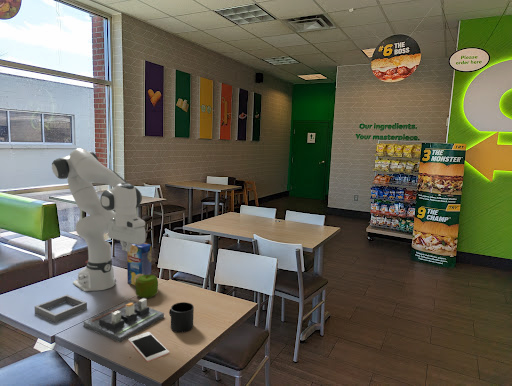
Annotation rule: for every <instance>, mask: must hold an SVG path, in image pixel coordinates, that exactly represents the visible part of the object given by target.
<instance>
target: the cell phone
mask: <svg viewBox="0 0 512 386" xmlns="http://www.w3.org/2000/svg"><path fill="white" fill-rule="evenodd" d="M127 341H128V342H129V343H130V344H131V346H132V347H133V348H134V349H135V350H136V351H137V352H138V354H140V356H141V357H143V359H144V361H145V362H148V363H149V362H152V361H153V360H156V359H159V358H161V357H164V356H167V355H169V354H170V350H169V349H167V348H166V346H164V344H162V343H161V341H160V340H158V339H157V337H155V336H154V335H153V334H152V333H151V332H150V331H147V332H144V333H140V334H137V335H134V336H130V337H128V338H127Z"/></svg>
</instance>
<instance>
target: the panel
mask: <svg viewBox="0 0 512 386" xmlns="http://www.w3.org/2000/svg"><path fill="white" fill-rule="evenodd" d="M147 299H148V298H141V299H139V300H137V302H134V301H131V300H128V301H125V302H124V303H121V304H119V305H117V306H114V307H112V308H111V309H109V310H106V311H104V312H102V313H99V314H97V315H95V316H93V317H91V318H89V319H86V320H85V321H83V327H85V328H87V329H89V330H91V331H94V332H95V333H99V334H100V335H102V336H105V337H107V338H109V339H112V340H114V341H116V342H118V343H122V342H123V341H124V340H126V339H127V340H128V339H129V338H131V337H133V335H134V336H135V335H136V334H137V333H139V332H140V331H143V330H144V329H146V328H148V327H149V326H151V325H153V324H155V323H156V322H158V321H160V320H161V319H163V318H164V317H165V313H164V312H162V311H159V310H156V309H154V308H151V307H150V306H147V304H148V303H147ZM129 303H134V314H132V315H130V316H127V315H126V304H129Z"/></svg>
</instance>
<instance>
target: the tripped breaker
mask: <svg viewBox="0 0 512 386" xmlns="http://www.w3.org/2000/svg"><path fill="white" fill-rule="evenodd" d="M132 314H134V303H129V304H126V315H127V316H130V315H132Z"/></svg>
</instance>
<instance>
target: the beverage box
mask: <svg viewBox="0 0 512 386" xmlns="http://www.w3.org/2000/svg"><path fill="white" fill-rule="evenodd" d="M126 253H127V259H126V260H127V266H126V267H127V272H126V273H127V274H126V275H127V284H129V285H130V284H131V285H133V286H135V282H136V280H137V279H138V278H139V277H140V276H143V275H152V244H150V243H147V242H145V243H144V244H141V245H137V244H133V243H132V245H131V247H130V251H128V252H127V251H126Z"/></svg>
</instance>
